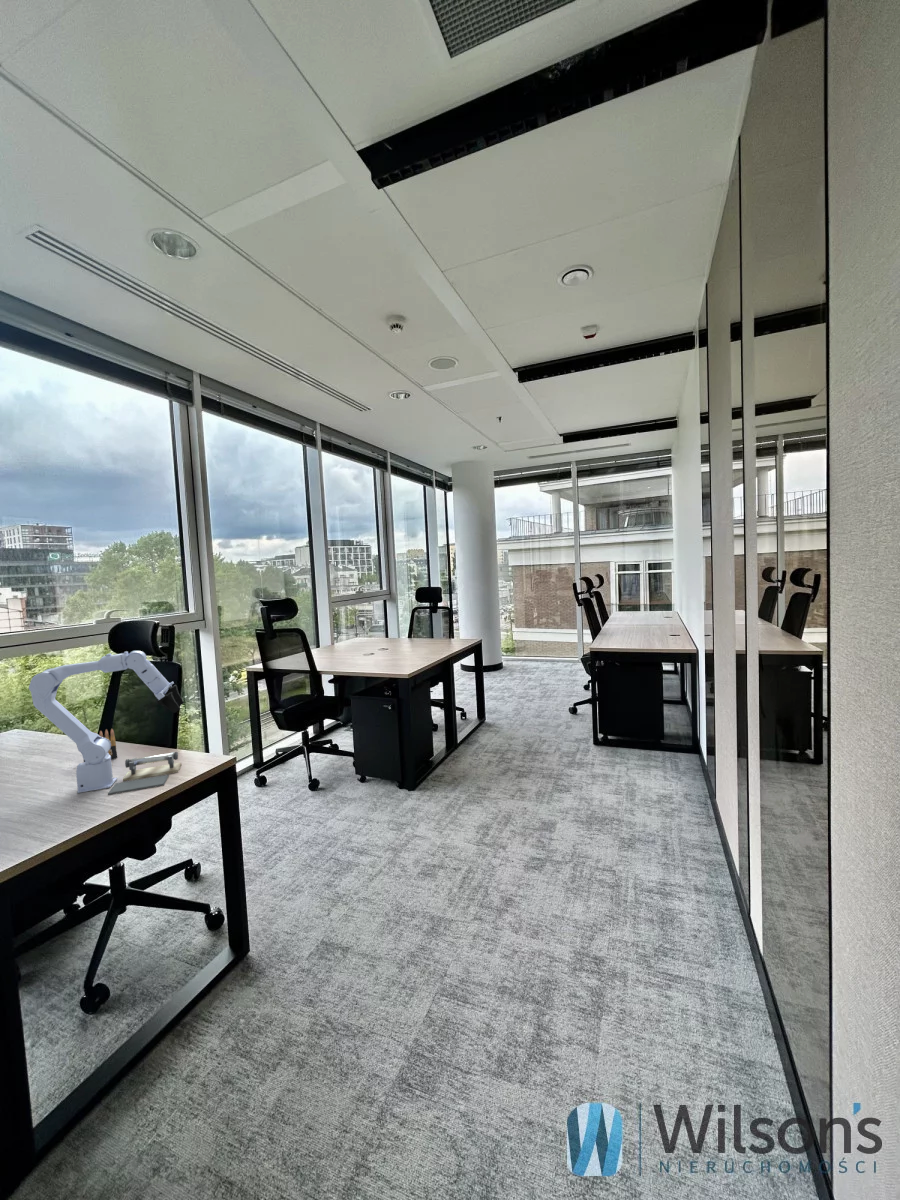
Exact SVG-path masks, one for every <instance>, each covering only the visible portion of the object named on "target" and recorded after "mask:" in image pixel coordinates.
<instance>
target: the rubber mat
mask: <svg viewBox="0 0 900 1200" xmlns="http://www.w3.org/2000/svg"><path fill="white" fill-rule="evenodd" d="M168 778H169V774H164V775H158V776H152V777H146V778H140V779H134V780H128V781H122V782H121V781H120V782H116V783H114V785H112V786H111V789H109V792H107V795H108V796H109V795H110V796H111V795H116V793H117V794H122V792H123V793H127V792H132V791H134V792H135V791H140V790H146V789H150V788H156V787H155V786H157V787H162V786H161V785H163V786H164V785H165V784H166V782H167V780H168Z"/></svg>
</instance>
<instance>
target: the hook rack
mask: <svg viewBox="0 0 900 1200" xmlns="http://www.w3.org/2000/svg"><path fill="white" fill-rule="evenodd" d="M170 753H175V751H171V752H170ZM132 759H137V757H133V758H132ZM137 766H138V765H136V766H134V762H129V767H128V768H129V770H128V771H127V773H126V774H125V775H124V777H123V778H122V782H127V780H128V781H133V780H139V779H145V778H151V777H157V776H163V775H169V774H174V773H179V771H180V769H181V767H182V762H176V763H175V759H174V760H172V756H168V761H167V764H164V765H157V766H152V767H145V768H138V769H137Z"/></svg>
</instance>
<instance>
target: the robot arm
mask: <svg viewBox="0 0 900 1200" xmlns="http://www.w3.org/2000/svg"><path fill="white" fill-rule="evenodd" d="M127 669H129V670H132V671H134V673H135V674H136V675H137V677H138V678H139V679H140V680H141V681H142V682H143V684H145V685H146V686H147V687H148V688H149V690H150V691H151V692H152V693H153V694H154V696H155V698H156V699H157V700H156V702H155V703H156V704H157V705H160V706H162V707H165V708H167V710H169V711H171V712H172V713H174V714H176V713H177V712H178V711H180V710H181V708H180V706H182V705H183V704H185V703H184V700H183V698H182V697H181V695H180V693H179V692H180V691H179V689H178V686H177V684H175V683H174V681H171V682H169V681H168V680H167V679H166V677H165V676H164V675H163V674H162V672H160V671H159V670H158V668H156V666H155V665H154V664H153V663H152V662H151V660H149V659H147V654H146V653H145V652H144V651H143V650H142V651H141V650H136V649H135V650H132V651H130V652H129V651H124V652H121V653H116V654H112V653H107V654H105V655H104V656H102V657H100V659H99V660H93V661H88V662H87V661H86V662H80V663H79V662H78V663H71V664H64V665H60V666H59V665H58V666H57V667H56V666H55V667H54V668H53V667H51V668H47V669H45V670H43V671H42V672H40V673H37V674H35V675H34V676H33V677H32V678H31V680H30V683H29V685H28V690H29V692H30V694H31V700H32V704H33V707H34V708H35V709H37V710H38V712H40V713H41V714H42V715H44V717H45V718H47V719H48V720H49V721H50V722H51V723H52V724H54V726H56V728H58V729H59V730H60V731H61V732H62V733H63V734H65V736H67V737H68V738H69V739H71V740H72V741H73V742H74V744H75V745H76V747H77V751H78V752H80V754H81V756H82V758H83V762H79V763H78V764H77V767H76V773H75V774H76V785H77V791H76V793H77V794H80V793H81V794H82V793H86V792H91V791H97V790H98V791H99V790H103V789H109V788H112V787H113V786H114V785H113V784H115V782H116V781H117V779H118V777H114V776H113V768H112V767H113V765H112V759H111V756H110V755H109V753H108V751H109V750H110V748H111V742H110V741H109V740H108V739H107V738H105V736H103V737H101V736H99V734H98V733H97V732H96V733H95V731H94V732H93V731H91V730H90V729H89V728H88V727H87V726H85V725H84V724H83V723H82V722H81V721H80V720H79V719H78V718H77V717H75V716H74V715H73V714H72V713H71V712H70V711H69V710H68V709H67V708H66V707H65V706H63V705H62V704H61V703H60V702H59V701H58V700H57V699H56V697H57V692H58V689H59V688H60V685H61V684H62V683H63V681H64V680H66V679H67V678H68V677H70V676H74V675H79V674H85V673H86V674H87V673H90V672H96V671H101V672H103V673H105V674H107V673H111V672H119V671H124V670H127ZM173 684H174V685H173ZM84 760H85V762H84Z"/></svg>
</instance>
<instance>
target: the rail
mask: <svg viewBox="0 0 900 1200" xmlns="http://www.w3.org/2000/svg"><path fill="white" fill-rule="evenodd" d="M168 756H172V760H174V761H178V759H179V751H174V753H164V754H163V753H162V754H158V755H150V756H145V757H138V758H137V757H136V758H137V759H133V758H131V759H129V758H128V759H125V761H124V762H125V764H124V765H125V768H129V762H134V766H136V765H137V766H141V765H146V764H147V765H148V764H149V765H150V764H154V763H161V762H168ZM137 766H136V767H137Z"/></svg>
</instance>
